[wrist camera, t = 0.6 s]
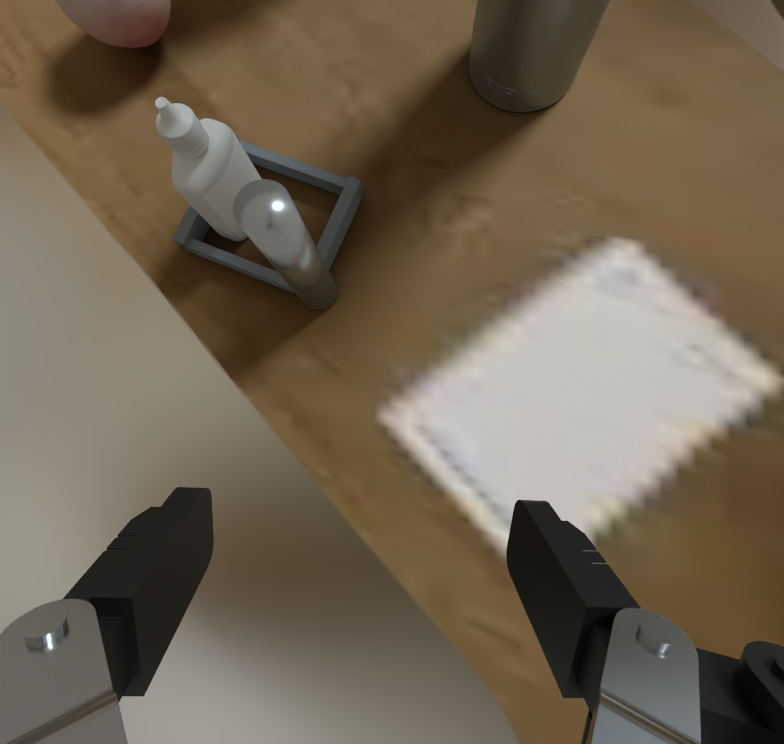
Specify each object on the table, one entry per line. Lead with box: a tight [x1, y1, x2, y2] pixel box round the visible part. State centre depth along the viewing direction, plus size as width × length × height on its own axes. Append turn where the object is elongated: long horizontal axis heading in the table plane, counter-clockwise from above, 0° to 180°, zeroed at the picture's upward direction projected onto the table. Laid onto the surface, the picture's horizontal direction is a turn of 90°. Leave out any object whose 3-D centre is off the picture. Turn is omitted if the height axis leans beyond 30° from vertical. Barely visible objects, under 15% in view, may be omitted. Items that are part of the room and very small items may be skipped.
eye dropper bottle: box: [155, 97, 261, 242], centre depth 30 cm, size 4×6×12 cm
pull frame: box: [172, 135, 364, 311], centre depth 29 cm, size 11×14×13 cm
